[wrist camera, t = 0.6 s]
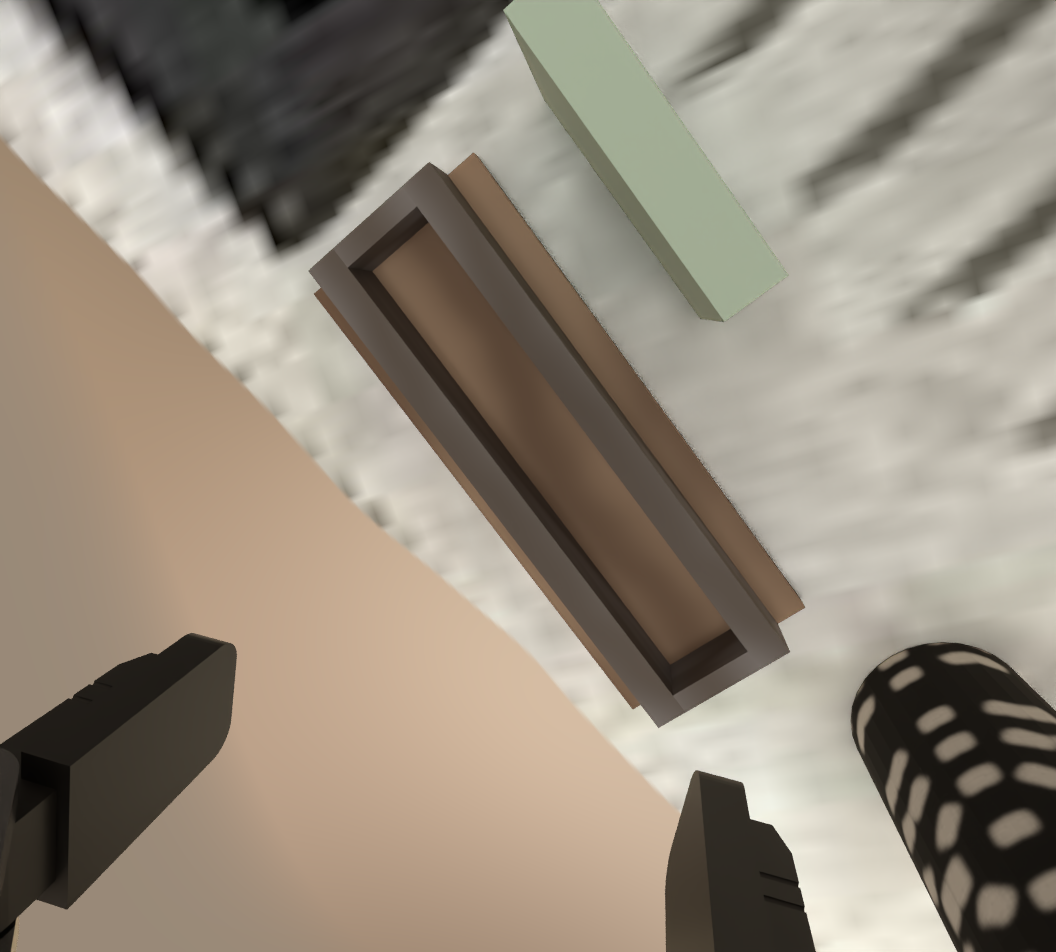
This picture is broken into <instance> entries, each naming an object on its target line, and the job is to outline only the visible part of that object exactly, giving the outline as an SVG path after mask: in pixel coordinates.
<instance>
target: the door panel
mask: <svg viewBox="0 0 1056 952" xmlns="http://www.w3.org/2000/svg"><path fill="white" fill-rule="evenodd" d="M503 11H504V13H505V15H506V17H507V19H508V22H509V24H510V26H511V28H512V30H513V32H514V35H515V37H516V39H517V41H518V43H519V46H520V48H521V50H522V52H523V54H524V57H525V59H526V61H527V63H528V65H529V68H530V70H531V72H532V74H533V76H534V79H535V81H536V83H537V85H538V87H539V90H540V92H541V94H542V96H543V98H544V100H545V102H546V103H547V104H548V106H549V107H550V109H551V110H552V111H553V113H554V114H555V116H556V117H557V118H558V120H559V121H560V123H561V124H562V125H563V127H564V128H565V130H566V131H567V132H568V134H569V135H570V137H571V138H572V139H573V141H574V142H575V144H576V145H577V146H578V148H579V149H580V151H581V152H582V153H583V155H584V156H585V158H586V159H587V160H588V162H589V163H590V165H591V166H592V167H593V169H594V170H595V172H596V173H597V175H598V176H599V177H600V179H601V180H602V182H603V183H604V184H605V186H606V187H607V189H608V190H609V191H610V193H611V194H612V196H613V197H614V198H615V200H616V201H617V203H618V204H619V205H620V207H621V208H622V210H623V211H624V212H625V214H626V215H627V217H628V218H629V219H630V221H631V222H632V224H633V225H634V226H635V228H636V229H637V231H638V232H639V233H640V235H641V236H642V238H643V239H644V240H645V242H646V243H647V245H648V246H649V247H650V249H651V250H652V252H653V253H654V254H655V256H656V257H657V259H658V260H659V261H660V263H661V264H662V266H663V267H664V268H665V270H666V271H667V273H668V274H669V275H670V277H671V278H672V280H673V281H674V282H675V284H676V285H677V287H678V288H679V289H680V291H681V292H682V294H683V295H684V297H685V298H686V299H687V301H688V302H689V304H690V305H691V306H692V308H693V309H694V311H695V312H696V313H697V315H698V316H699V318H700V319H706V320H714V321H722V322H725V321H727V320H728V319H729V318H731V317H732V316H733V315H735V314H736V313H738V312H739V311H740V310H742V309H743V308H744V307H746V306H747V305H749V304H750V303H751V302H753V301H754V300H755V299H757V298H758V297H760V296H761V295H762V294H764V293H765V292H766V291H768V290H769V289H771V288H772V287H773V286H775V285H776V284H777V283H779V282H780V281H782V280H783V279H784V278H786V277H787V276H788V274H787V272H786V271H785V269H784V268H783V266H782V265H781V264H780V262H779V261H778V259H777V258H776V256H775V255H774V253H773V252H772V251H771V249H770V248H769V246H768V245H767V243H766V242H765V241H764V239H763V238H762V236H761V235H760V233H759V232H758V230H757V229H756V228H755V226H754V225H753V223H752V222H751V220H750V219H749V218H748V216H747V215H746V213H745V212H744V210H743V209H742V207H741V206H740V205H739V203H738V202H737V200H736V199H735V197H734V196H733V195H732V193H731V192H730V190H729V189H728V187H727V186H726V184H725V183H724V182H723V180H722V179H721V177H720V176H719V174H718V173H717V171H716V170H715V169H714V167H713V166H712V164H711V163H710V161H709V160H708V159H707V157H706V156H705V154H704V153H703V151H702V150H701V148H700V147H699V146H698V144H697V143H696V141H695V140H694V138H693V137H692V136H691V134H690V133H689V131H688V130H687V128H686V127H685V125H684V124H683V123H682V121H681V120H680V118H679V117H678V115H677V114H676V113H675V111H674V110H673V108H672V107H671V105H670V104H669V102H668V101H667V100H666V98H665V97H664V95H663V94H662V92H661V91H660V90H659V88H658V87H657V85H656V84H655V82H654V81H653V79H652V78H651V77H650V75H649V74H648V72H647V71H646V69H645V68H644V67H643V65H642V64H641V62H640V61H639V59H638V58H637V56H636V55H635V54H634V52H633V51H632V49H631V48H630V46H629V45H628V44H627V42H626V41H625V39H624V38H623V36H622V35H621V33H620V32H619V31H618V29H617V28H616V26H615V25H614V23H613V22H612V21H611V19H610V18H609V16H608V15H607V13H606V12H605V10H604V9H603V8H602V6H601V5H600V3H599V2H598V0H514V1H513V2H512V3H511V4H510V5H508V6H507V7H506V8H505V9H504V10H503Z"/></svg>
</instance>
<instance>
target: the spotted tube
mask: <svg viewBox="0 0 1056 952" xmlns="http://www.w3.org/2000/svg"><path fill="white" fill-rule="evenodd" d="M851 726H852V735H853V738H854V741H855V744H856V746H857V749H858V751H859V753H860V755H861V757H862V759H863V761H864V763H865V765H866V767H867V769H868V772H869V774H870V776H871V778H872V780H873V782H874V784H875V786H876V788H877V790H878V792H879V794H880V796H881V798H882V800H883V802H884V804H885V806H886V808H887V810H888V812H889V814H890V816H891V818H892V820H893V822H894V824H895V826H896V828H897V830H898V832H899V834H900V836H901V838H902V840H903V842H904V845H905V847H906V849H907V851H908V853H909V855H910V857H911V859H912V861H913V863H914V865H915V867H916V869H917V871H918V873H919V875H920V877H921V879H922V881H923V883H924V885H925V887H926V889H927V891H928V893H929V895H930V897H931V899H932V901H933V903H934V905H935V907H936V909H937V911H938V913H939V915H940V918H941V920H942V922H943V924H944V926H945V928H946V930H947V932H948V934H949V936H950V938H951V940H952V942H953V944H954V946H955V948H956V950H957V952H1056V711H1055V710H1054V709H1053V708H1052V707H1051V706H1050V705H1049V704H1048V703H1047V702H1046V701H1045V700H1044V699H1043V698H1042V697H1041V696H1040V695H1039V694H1038V693H1037V692H1035V691H1034V690H1033V689H1032V688H1031V687H1030V686H1029V685H1028V684H1027V683H1026V682H1025V681H1024V680H1023V679H1022V678H1021V677H1020V676H1019V675H1018V674H1017V673H1016V672H1015V671H1014V670H1013V669H1012V668H1011V667H1010V666H1009V665H1007V664H1006V663H1005V662H1003V661H1002V660H1000V659H999V658H997V657H996V656H994V655H993V654H990V653H988V652H986V651H983V650H981V649H979V648H976V647H972V646H967V645H963V644H956V643H933V644H924V645H920V646H917V647H913V648H910V649H906V650H904V651H902V652H900V653H898V654H896V655H894V656H892V657H890V658H889V659H887V660H886V661H884V662H883V663H882V664H880V665H879V666H877V667H876V668H875V669H874V670H873V672H872V673H871V674H870V675H869V676H868V677H867V678H866V679H865V681H864V682H863V684H862V686H861V687H860V689H859V690H858V692H857V695H856V698H855V701H854V704H853V706H852V715H851Z"/></svg>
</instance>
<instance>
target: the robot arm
mask: <svg viewBox="0 0 1056 952" xmlns="http://www.w3.org/2000/svg"><path fill="white" fill-rule="evenodd" d="M236 657H237V654H236V648H235V646H234V645H233V644H231V643H228V642H224V641H220V640H217V639H213V638H209V637H205V636H202V635H198V634H194V633H190V634H187V635H185V636H184V637H182V638H181V639H179V640H178V641H177V642H175V643H174V644H172V645H171V646H170V647H168V648H167V649H165V650H164V651H163V652H161V653H160V654H158V655H157V654H153V653H150V654H147V655H144V656H141V657H138V658H136V659H133V660H130V661H127V662H125V663H122V664H119V665H117V666H116V667H115V668H113V669H112V670H110V671H108V672H107V673H106V674H104V675H103V676H101V677H100V678H98V679H97V680H95V681H94V684H93V685H88V686H86V687H85V688H83V689H82V690H80V691H79V692H77V693H76V694H74V696H73V698H72V699H67V700H65V701H64V702H62V703H61V704H59V705H58V706H56V707H55V708H54V709H52V710H51V711H49V712H48V713H46V714H45V715H43V716H42V717H40V718H39V719H37V720H36V721H34V722H33V723H31V724H30V725H28V726H27V727H25V728H24V729H22V730H21V731H19V732H18V733H16V734H15V735H13V736H12V737H11V738H9V739H8V740H6V741H5V742H3V743H2V744H0V952H16V947H17V941H18V935H19V915H20V914H21V913H22V912H23V911H24V910H25V909H26V908H27V907H29V906H30V905H31V904H32V903H33V902H34V901H35V900H39V901H43V902H46V903H49V904H52V905H55V906H58V907H61V908H64V909H68V908H69V907H70V906H71V905H72V904H73V903H74V902H75V901H76V900H77V899H78V898H79V897H80V896H81V895H82V894H83V893H84V892H85V891H86V890H87V889H88V888H89V887H90V886H91V884H93V883H94V881H96V879H97V878H98V877H99V876H100V875H101V874H102V873H103V872H104V871H105V870H106V869H107V868H108V867H109V866H110V865H111V864H112V863H113V862H114V861H115V860H116V859H117V858H118V857H119V856H120V855H121V854H122V853H123V852H124V850H126V849H127V848H128V846H129V845H130V844H131V843H132V842H133V841H134V840H135V839H136V838H137V837H138V836H139V835H140V834H141V833H142V832H143V831H144V830H145V829H146V828H147V827H148V826H149V825H150V824H151V823H152V822H153V821H154V820H155V819H156V818H157V817H158V816H159V815H160V814H161V812H162V811H163V810H164V809H165V808H166V807H167V806H168V805H169V804H170V803H171V802H172V801H173V800H174V799H175V798H176V797H177V796H178V795H179V794H180V793H181V792H182V791H183V790H184V789H185V788H186V787H187V786H188V785H189V784H190V783H191V782H192V780H193V779H194V778H196V777H197V775H198V774H199V773H200V772H201V771H202V770H203V769H204V768H205V767H206V766H207V765H208V764H209V763H210V762H211V761H212V760H213V759H214V758H215V757H216V755H217V754H218V753H219V751H220V749H221V748H222V746H223V744H224V742H225V739H226V737H227V734H228V731H229V728H230V724H231V716H232V704H233V693H234V681H235V670H236V659H237V658H236ZM798 884H799V881H798V877H797V873H796V869H795V865H794V861H793V856H792V853H791V852H790V850H789V849H788V847H787V846H786V844H785V843H784V842H783V840H782V839H781V837H780V836H779V834H778V833H777V831H776V830H775V829H774V827H773V826H772V825H770V824H766V823H762V822H759V821H755V820H751V819H750V816H749V811H748V805H747V800H746V794H745V789H744V785H743V783H742V782H738V781H735V780H731V779H727V778H724V777H720V776H716V775H712V774H709V773H705V772H701V771H698V770H696V771H695V772H694V774H693V776H692V778H691V781H690V785H689V788H688V792H687V795H686V799H685V802H684V806H683V809H682V813H681V816H680V819H679V823H678V827H677V830H676V833H675V837H674V840H673V844H672V847H671V851H670V856H669V861H668V867H667V875H666V886H665V888H666V889H665V905H666V906H665V909H666V952H816V951H815V947H814V943H813V939H812V935H811V930H810V926H809V922H808V918H807V914H806V913H805V912H804V907H805V906H804V902H803V898H802V893H801V889H800V888H798Z"/></svg>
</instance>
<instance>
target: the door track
mask: <svg viewBox="0 0 1056 952" xmlns="http://www.w3.org/2000/svg"><path fill="white" fill-rule="evenodd" d="M309 272H310V274H311V275H312V276H313V278H314V279H315V280H316V282H317V283H318V284H319V285H320V287H321V288H320V289H319V290H318V291H317V292H316V293H314V295H315V296H316V298H317V299H318V300H319V301H320V303H321V304H322V305H323V307H324V308H325V309H326V311H327V312H328V313H329V314H330V316H331V317H332V318H333V320H334V321H335V322H336V324H337V325H338V326H339V327H340V329H341V330H342V331H343V333H344V334H345V335H346V337H347V338H348V339H349V341H350V342H351V343H352V344H353V346H354V347H355V348H356V350H357V351H358V352H359V354H360V355H361V356H362V357H363V359H364V360H365V361H366V363H367V364H368V365H369V367H370V368H371V369H372V370H373V372H374V373H375V374H376V376H377V377H378V378H379V380H380V381H381V382H382V383H383V385H384V386H385V387H386V389H387V390H388V391H389V393H390V394H391V395H392V397H393V398H394V399H395V400H396V402H397V403H398V404H399V406H400V407H401V408H402V410H403V411H404V412H405V413H406V415H407V416H408V417H409V419H410V420H411V421H412V423H413V424H414V425H415V426H416V428H417V429H418V430H419V432H420V433H421V434H422V436H423V437H424V438H425V439H426V441H427V442H428V443H429V445H430V446H431V447H432V449H433V450H434V451H435V452H436V454H437V455H438V456H439V458H440V459H441V460H442V462H443V463H444V464H445V466H446V467H447V468H448V469H449V471H450V472H451V473H452V475H453V476H454V477H455V479H456V480H457V481H458V482H459V484H460V485H461V486H462V488H463V489H464V490H465V492H466V493H467V494H468V495H469V497H470V498H471V499H472V501H473V502H474V503H475V505H476V506H477V507H478V508H479V510H480V511H481V512H482V514H483V515H484V516H485V518H486V519H487V520H488V522H489V523H490V524H491V525H492V527H493V528H494V529H495V531H496V532H497V533H498V535H499V536H500V537H501V538H502V540H503V541H504V542H505V544H506V545H507V546H508V548H509V549H510V550H511V551H512V553H513V554H514V555H515V557H516V558H517V559H518V561H519V562H520V563H521V564H522V566H523V567H524V568H525V570H526V571H527V572H528V574H529V575H530V576H531V577H532V579H533V580H534V581H535V583H536V584H537V585H538V587H539V588H540V589H541V591H542V592H543V593H544V594H545V596H546V597H547V598H548V600H549V601H550V602H551V604H552V605H553V606H554V607H555V609H556V610H557V611H558V613H559V614H560V615H561V617H562V618H563V619H564V620H565V622H566V623H567V624H568V626H569V627H570V628H571V630H572V631H573V632H574V633H575V635H576V636H577V637H578V639H579V640H580V641H581V643H582V644H583V645H584V646H585V648H586V649H587V650H588V652H589V653H590V654H591V656H592V657H593V658H594V660H595V661H596V662H597V663H598V665H599V666H600V667H601V669H602V670H603V671H604V673H605V674H606V675H607V676H608V678H609V679H610V680H611V682H612V683H613V684H614V686H615V687H616V688H617V689H618V691H619V692H620V693H621V695H622V696H623V697H624V699H625V700H626V701H627V702H628V704H629V705H630V706H631V708H632V709H634V708H636V707H638V706H639V705H641V706H642V707H643V708H644V710H645V711H646V712H647V714H648V715H649V716H650V717H651V719H652V720H653V721H654V723H655V724H656V725H657V727H658V728H659V727H661V726H663V725H664V724H666V723H668V722H670V721H671V720H673V719H675V718H677V717H678V716H680V715H682V714H683V713H685V712H687V711H689V710H690V709H692V708H694V707H696V706H697V705H699V704H701V703H703V702H704V701H706V700H708V699H709V698H711V697H713V696H715V695H716V694H718V693H720V692H722V691H723V690H725V689H727V688H729V687H730V686H732V685H734V684H736V683H737V682H739V681H741V680H742V679H744V678H746V677H748V676H749V675H751V674H753V673H755V672H756V671H758V670H760V669H762V668H763V667H765V666H767V665H768V664H770V663H772V662H774V661H775V660H777V659H779V658H781V657H782V656H784V655H786V654H788V653H789V652H790V651H789V648H788V646H787V644H786V642H785V639H784V637H783V635H782V632H781V630H780V628H779V626H778V623H780V622H782V621H783V620H785V619H787V618H788V617H790V616H792V615H793V614H795V613H797V612H798V611H800V610H802V609H804V608H805V606H804V605H803V603H802V601H801V599H800V598H799V596H798V595H797V594H796V592H795V591H794V590H793V588H792V587H791V585H790V584H789V583H788V581H787V580H786V579H785V577H784V576H783V574H782V573H781V572H780V570H779V569H778V568H777V566H776V565H775V563H774V562H773V561H772V559H771V558H770V557H769V555H768V554H767V553H766V551H765V550H764V548H763V547H762V546H761V544H760V543H759V542H758V540H757V539H756V537H755V536H754V535H753V533H752V532H751V531H750V529H749V528H748V526H747V525H746V524H745V522H744V521H743V520H742V518H741V517H740V515H739V514H738V513H737V511H736V510H735V509H734V507H733V506H732V504H731V503H730V502H729V500H728V499H727V498H726V496H725V495H724V494H723V492H722V491H721V489H720V488H719V487H718V485H717V484H716V483H715V481H714V480H713V478H712V477H711V476H710V474H709V473H708V472H707V470H706V469H705V467H704V466H703V465H702V463H701V462H700V461H699V459H698V458H697V456H696V455H695V454H694V452H693V451H692V450H691V448H690V447H689V445H688V444H687V443H686V441H685V440H684V439H683V437H682V436H681V434H680V433H679V432H678V430H677V429H676V428H675V426H674V425H673V424H672V422H671V421H670V419H669V418H668V417H667V415H666V414H665V413H664V411H663V410H662V408H661V407H660V406H659V404H658V403H657V402H656V400H655V399H654V397H653V396H652V395H651V393H650V392H649V391H648V389H647V388H646V386H645V385H644V384H643V382H642V381H641V380H640V378H639V377H638V375H637V374H636V373H635V371H634V370H633V369H632V367H631V366H630V365H629V363H628V362H627V360H626V359H625V358H624V356H623V355H622V354H621V352H620V351H619V349H618V348H617V347H616V345H615V344H614V343H613V341H612V340H611V338H610V337H609V336H608V334H607V333H606V332H605V330H604V329H603V327H602V326H601V325H600V323H599V322H598V321H597V319H596V318H595V316H594V315H593V314H592V312H591V311H590V310H589V308H588V307H587V305H586V304H585V303H584V301H583V300H582V299H581V297H580V296H579V295H578V293H577V292H576V290H575V289H574V288H573V286H572V285H571V284H570V282H569V281H568V279H567V278H566V277H565V275H564V274H563V273H562V271H561V270H560V268H559V267H558V266H557V264H556V263H555V262H554V260H553V259H552V257H551V256H550V255H549V253H548V252H547V251H546V249H545V248H544V246H543V245H542V244H541V242H540V241H539V240H538V238H537V237H536V236H535V234H534V233H533V231H532V230H531V229H530V227H529V226H528V225H527V223H526V222H525V220H524V219H523V218H522V216H521V215H520V214H519V212H518V211H517V209H516V208H515V207H514V205H513V204H512V203H511V201H510V200H509V198H508V197H507V196H506V194H505V193H504V192H503V190H502V189H501V187H500V186H499V185H498V183H497V182H496V181H495V179H494V178H493V176H492V175H491V174H490V172H489V171H488V170H487V168H486V167H485V166H484V164H483V163H482V161H481V160H480V159H479V157H478V156H477V155H476V154H475V153H472V154H471V155H470V156H469V157H468V158H467V159H466V160H465V161H463V162H462V163H461V164H460V165H459V166H458V167H457V168H456V169H454V170H453V171H452V172H451V173H450V174H449V175H447V174H446V173H444V172H443V171H441V170H440V169H438V168H437V167H436V166H434V165H433V164H431V163H430V162H429V163H428V164H426V165H425V166H424V167H423V168H422V169H421V170H420V171H419V172H418V173H416V174H415V175H414V176H413V177H412V178H411V179H410V180H409V181H408V182H406V183H405V184H404V185H403V186H402V187H401V188H400V189H399V190H398V191H396V192H395V193H394V194H393V195H392V196H391V197H390V198H389V199H388V200H386V201H385V202H384V203H383V204H382V205H381V206H380V207H379V208H378V209H376V210H375V211H374V212H373V213H372V214H371V215H370V216H369V217H368V218H366V219H365V220H364V221H363V222H362V223H361V224H360V225H359V226H358V227H356V228H355V229H354V230H353V231H352V232H351V233H350V234H349V235H348V236H346V237H345V238H344V239H343V240H342V241H341V242H340V243H339V244H338V245H336V246H335V247H334V248H333V249H332V250H331V251H330V252H329V253H328V254H326V255H325V256H324V257H323V258H322V259H321V260H320V261H319V262H318V263H316V264H315V265H314V266H313V267H312V268H311V269H310V270H309Z"/></svg>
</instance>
